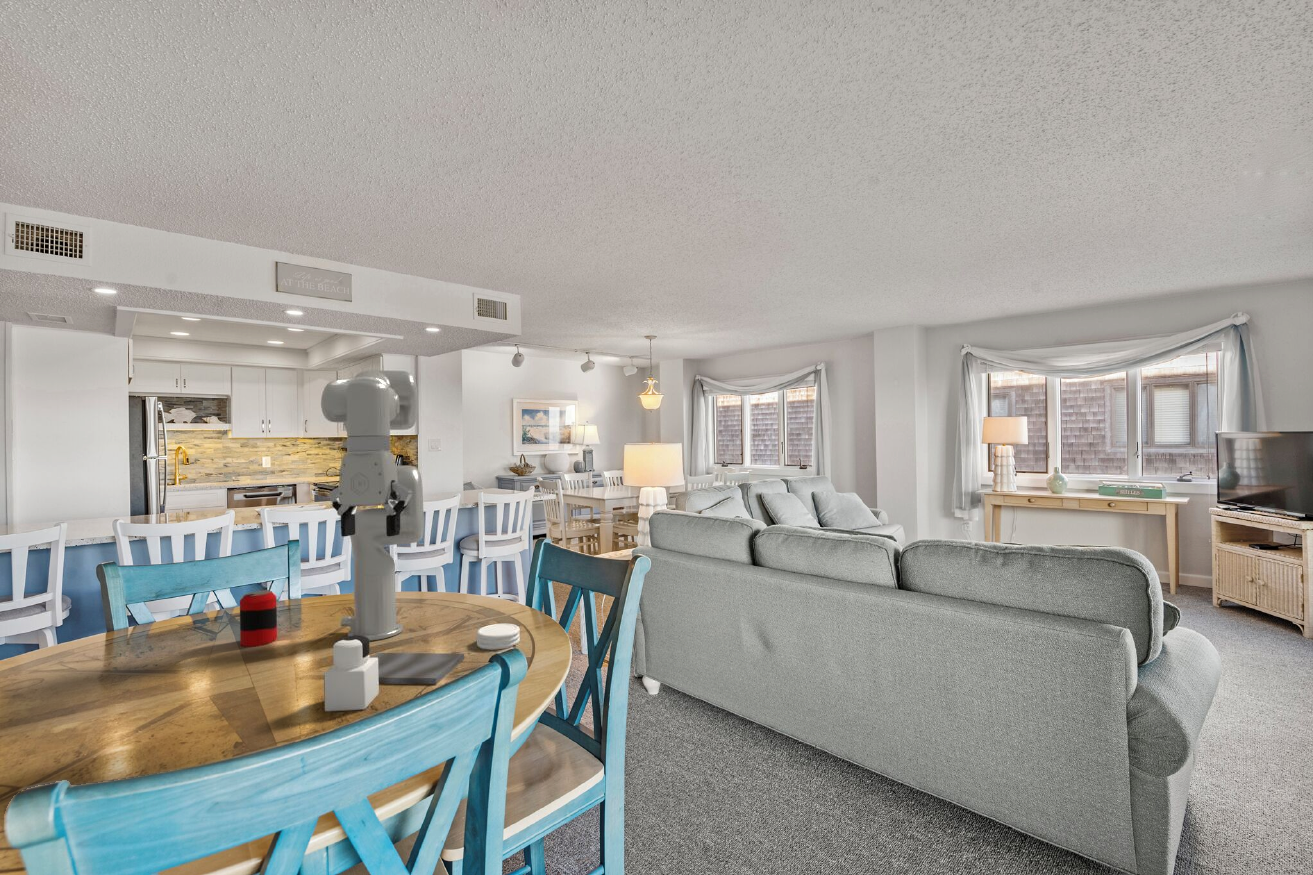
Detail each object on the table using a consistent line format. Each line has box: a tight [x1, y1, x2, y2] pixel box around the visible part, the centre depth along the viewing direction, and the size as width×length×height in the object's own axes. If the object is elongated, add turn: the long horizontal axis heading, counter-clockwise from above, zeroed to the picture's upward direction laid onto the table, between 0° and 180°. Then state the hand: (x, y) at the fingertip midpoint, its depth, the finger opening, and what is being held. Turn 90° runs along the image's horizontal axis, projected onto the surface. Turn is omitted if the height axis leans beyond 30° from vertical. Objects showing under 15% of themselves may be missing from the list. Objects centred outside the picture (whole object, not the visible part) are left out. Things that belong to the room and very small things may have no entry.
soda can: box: [239, 589, 278, 648], centre depth 151 cm, size 8×8×12 cm
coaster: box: [476, 623, 521, 651], centre depth 147 cm, size 10×10×4 cm
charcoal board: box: [370, 652, 465, 685], centre depth 130 cm, size 20×14×1 cm
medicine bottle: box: [323, 635, 380, 712], centre depth 115 cm, size 7×7×12 cm
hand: (370, 535), depth 118 cm, fingers open, 9 cm apart
